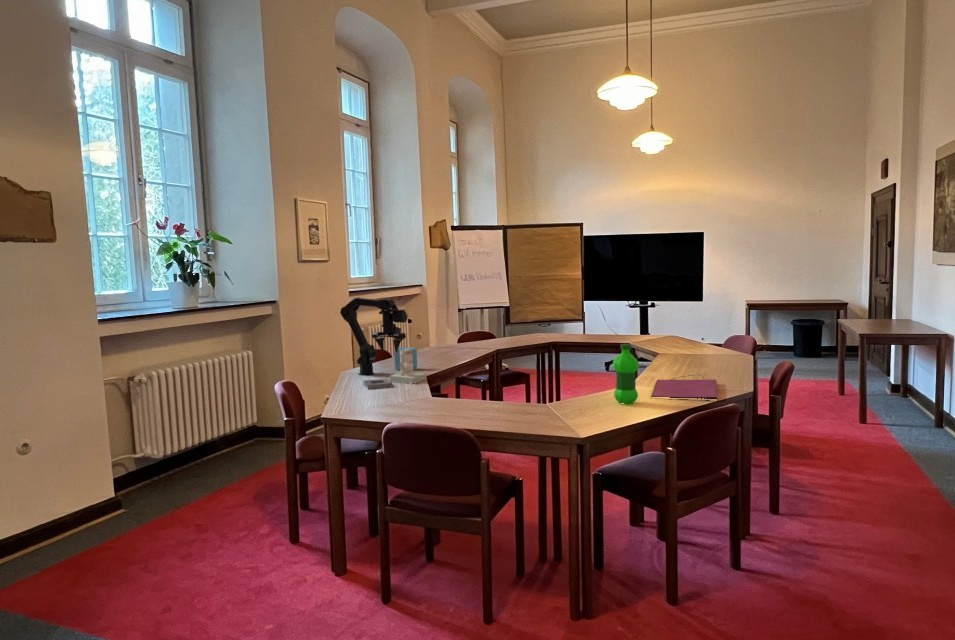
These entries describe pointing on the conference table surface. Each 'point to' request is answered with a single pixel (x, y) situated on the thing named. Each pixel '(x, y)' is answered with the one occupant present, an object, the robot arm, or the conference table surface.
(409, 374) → the cream block
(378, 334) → the robot arm
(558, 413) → the conference table surface
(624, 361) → the plastic bottle
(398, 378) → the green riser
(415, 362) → the light blue square slab
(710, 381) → the maroon hardcover notebook
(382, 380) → the pocket holder
